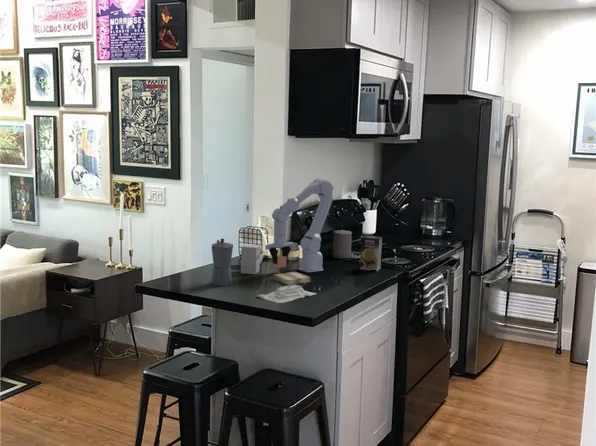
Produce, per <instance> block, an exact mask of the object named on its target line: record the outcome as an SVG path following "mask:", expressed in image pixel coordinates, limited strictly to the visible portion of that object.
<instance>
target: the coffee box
mask: <svg viewBox="0 0 596 446" xmlns="http://www.w3.org/2000/svg"><path fill="white" fill-rule="evenodd" d="M360 243H361V245H360V256H359V257H360V259H359V260H360V261H359V269H360V270H363V271H371V270H376V271H375V272H379V271H380V270H381V265H382V264H381V261H382V249H383V248H382V245H383V237H382V236H373V235H362V236H361V241H360ZM379 269H380V270H379Z"/></svg>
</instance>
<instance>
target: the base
mask: <svg viewBox="0 0 596 446" xmlns="http://www.w3.org/2000/svg"><path fill="white" fill-rule="evenodd" d="M272 279H273V280H274V281H277V282H279V283H282V284H284V285H285V286H289V285H299V284H304V283H311V276H310V275H309V276H308V275H307V274H303V273H300V272H297V271H290V272H282V273H275V274H273V275H272Z"/></svg>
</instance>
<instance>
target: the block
mask: <svg viewBox="0 0 596 446" xmlns="http://www.w3.org/2000/svg"><path fill="white" fill-rule="evenodd" d="M272 267H274V268H277V269H278V268H279V269H281V268H287V260H286V256H283V255H282V254H278V255H277V264H274V263H273V262H272Z"/></svg>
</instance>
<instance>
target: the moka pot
mask: <svg viewBox="0 0 596 446" xmlns="http://www.w3.org/2000/svg"><path fill="white" fill-rule="evenodd" d="M233 249H234V244H233V243H230V242H225V238H221V239H220V240H219V239H217V240H216V243H212V244H211V253H212V263H213V269H212V275H211V276H212V277H211V282H210V283H211V284H212V286H216V287H228V286H231V285H232V284H233V278H232V269H231V263H232V256H233Z"/></svg>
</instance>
